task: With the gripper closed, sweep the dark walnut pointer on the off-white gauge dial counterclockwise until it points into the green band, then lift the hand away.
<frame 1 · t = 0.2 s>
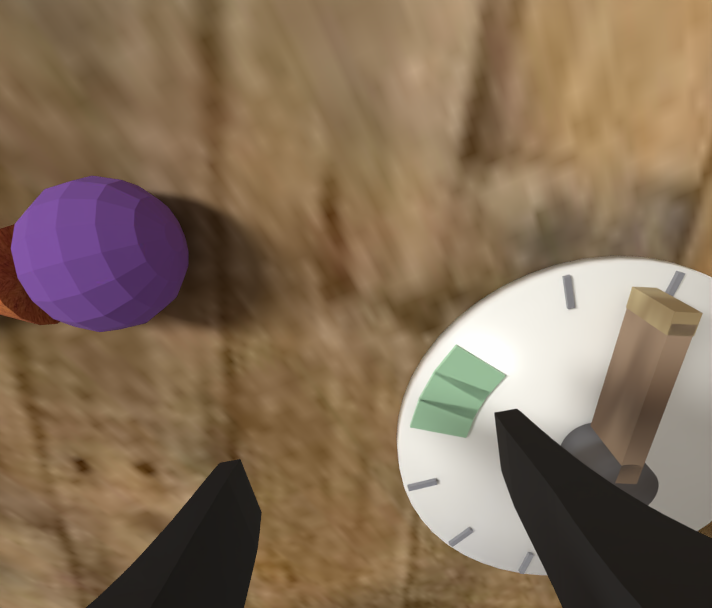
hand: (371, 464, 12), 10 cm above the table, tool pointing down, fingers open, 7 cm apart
kendama: (6, 275, 21), on the table
tuning pointer: (627, 405, 20), point 3 cm above the table, hinge at -20.0°
gauge dial: (578, 431, 24), on the table
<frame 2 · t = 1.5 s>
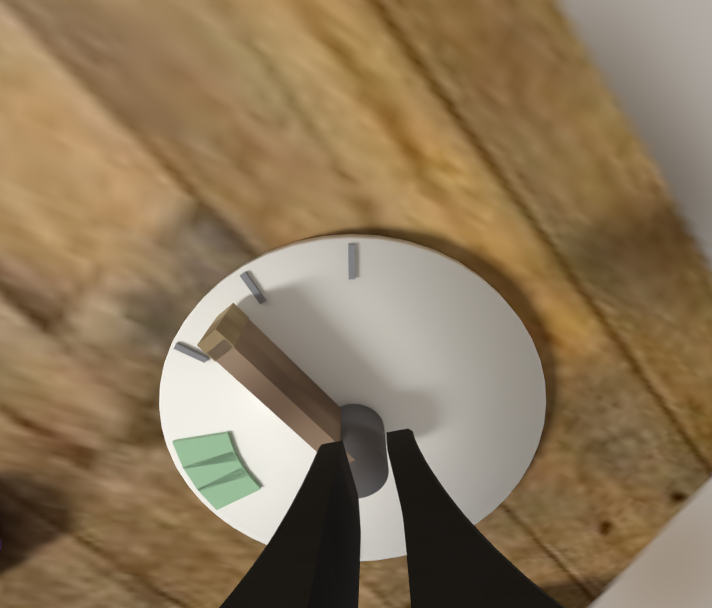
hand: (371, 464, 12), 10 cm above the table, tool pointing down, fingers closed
tuning pointer: (301, 400, 21), point 3 cm above the table, hinge at -20.0°
gauge dial: (353, 414, 24), on the table
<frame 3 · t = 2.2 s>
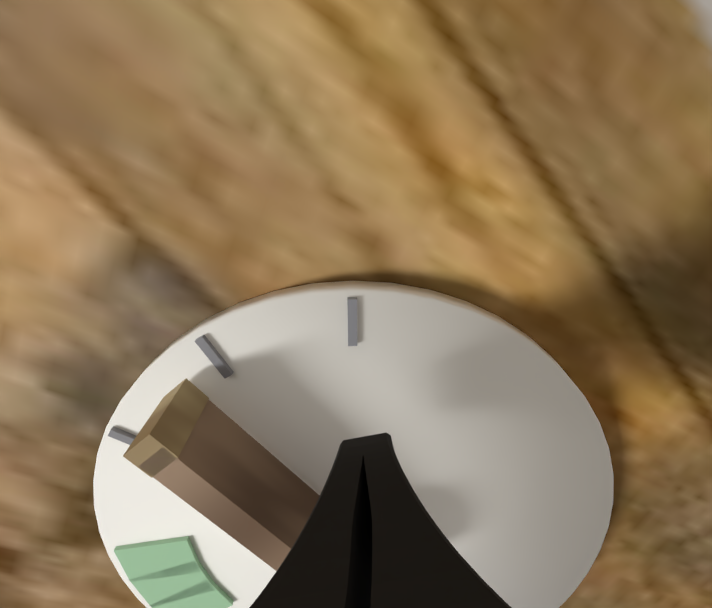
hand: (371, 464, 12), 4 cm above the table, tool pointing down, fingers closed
tuning pointer: (282, 513, 15), point 3 cm above the table, hinge at -20.0°
gauge dial: (354, 509, 18), on the table
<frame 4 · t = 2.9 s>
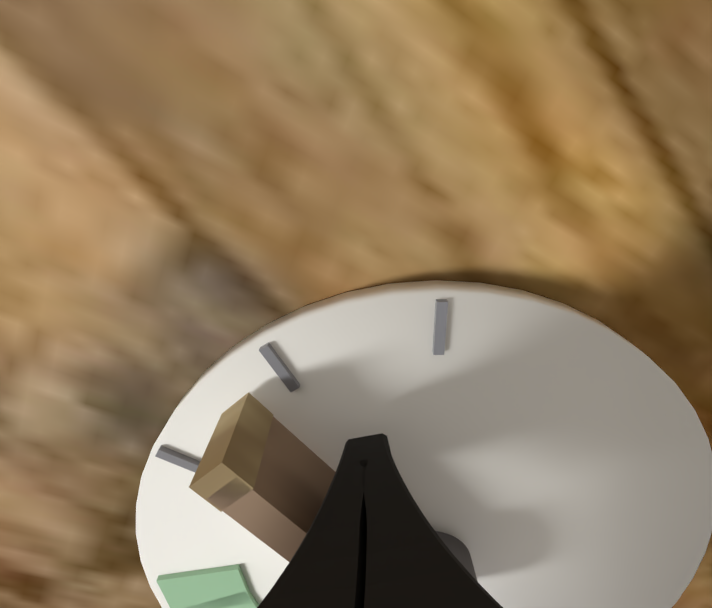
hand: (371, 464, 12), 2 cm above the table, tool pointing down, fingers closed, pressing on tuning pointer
tuning pointer: (356, 544, 13), point 3 cm above the table, hinge at -20.0°, touching gripper
gauge dial: (419, 532, 17), on the table
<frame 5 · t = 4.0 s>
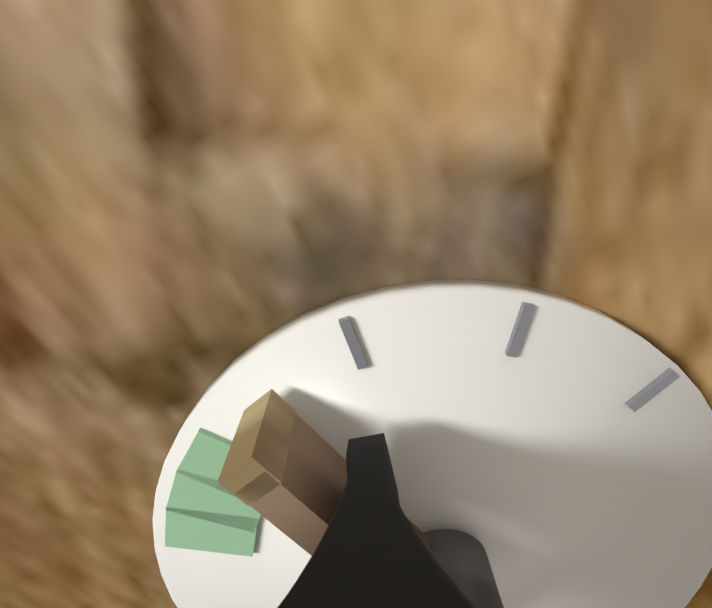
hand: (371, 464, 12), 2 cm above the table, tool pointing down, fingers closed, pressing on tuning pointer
tuning pointer: (376, 541, 13), point 3 cm above the table, hinge at 20.3°, touching gripper
gauge dial: (434, 531, 17), on the table
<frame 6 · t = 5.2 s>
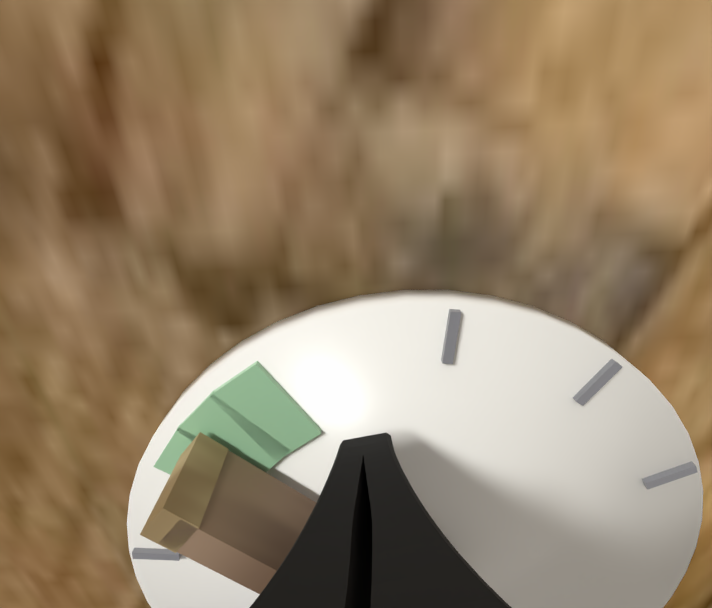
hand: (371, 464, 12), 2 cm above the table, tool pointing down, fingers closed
tuning pointer: (329, 562, 13), point 3 cm above the table, hinge at 54.7°
gauge dial: (409, 537, 17), on the table
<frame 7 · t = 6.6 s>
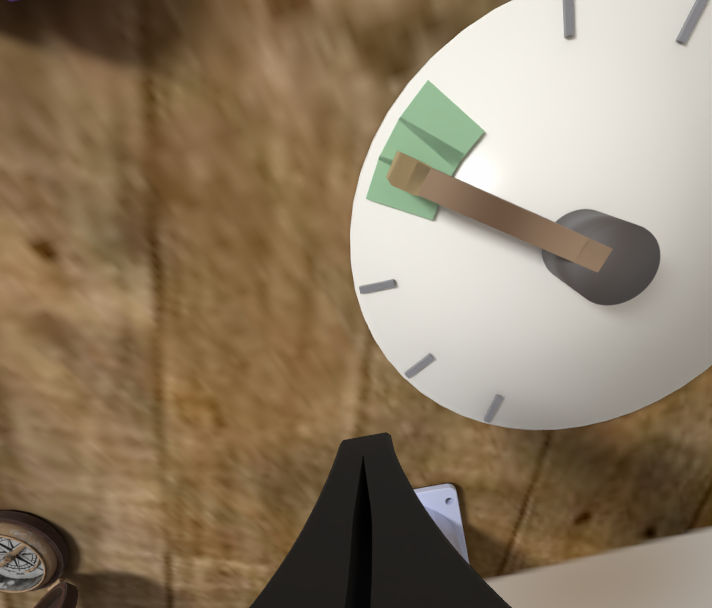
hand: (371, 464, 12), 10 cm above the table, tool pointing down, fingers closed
compass: (25, 555, 28), on the table
tuning pointer: (516, 220, 18), point 3 cm above the table, hinge at 55.1°
gauge dial: (565, 238, 21), on the table
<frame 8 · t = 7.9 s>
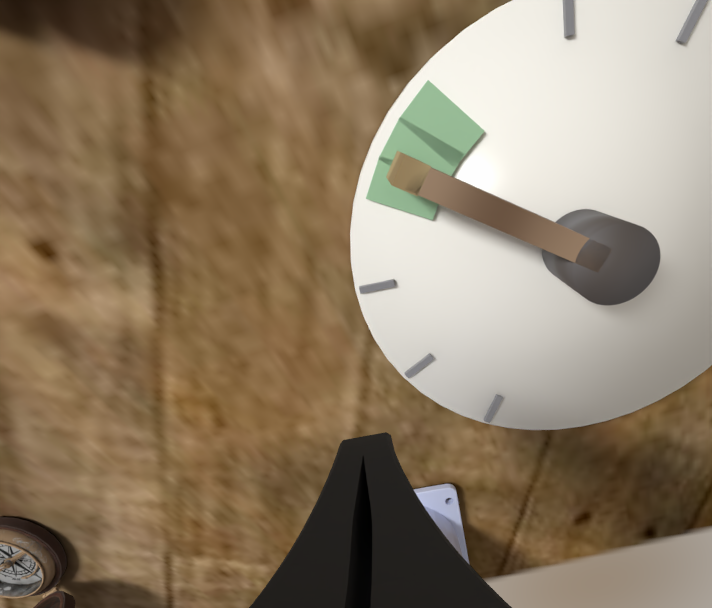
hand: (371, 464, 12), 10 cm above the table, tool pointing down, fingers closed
compass: (22, 560, 29), on the table
tuning pointer: (516, 220, 18), point 3 cm above the table, hinge at 55.1°
gauge dial: (565, 238, 21), on the table
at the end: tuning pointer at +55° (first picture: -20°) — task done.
